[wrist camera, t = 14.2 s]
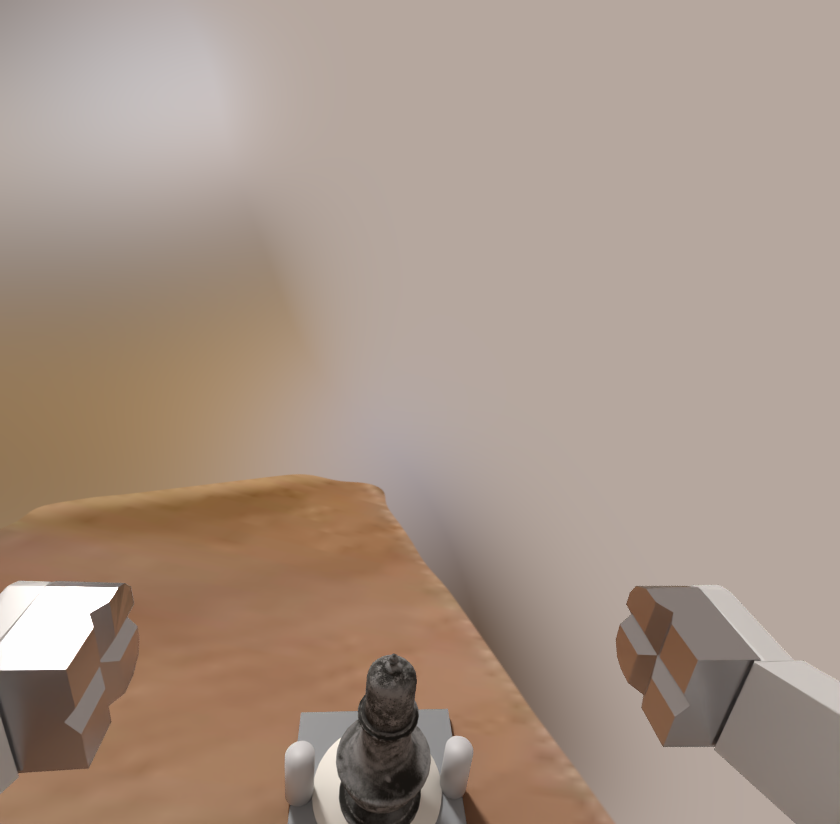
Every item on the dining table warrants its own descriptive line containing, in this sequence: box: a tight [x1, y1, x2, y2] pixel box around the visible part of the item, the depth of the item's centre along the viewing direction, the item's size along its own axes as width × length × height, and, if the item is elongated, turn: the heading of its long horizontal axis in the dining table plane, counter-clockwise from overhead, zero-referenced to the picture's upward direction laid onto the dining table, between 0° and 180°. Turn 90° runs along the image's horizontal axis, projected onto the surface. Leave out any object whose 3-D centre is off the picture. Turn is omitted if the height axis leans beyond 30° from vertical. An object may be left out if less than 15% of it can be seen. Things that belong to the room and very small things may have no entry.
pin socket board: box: [285, 682, 473, 824], centre depth 33 cm, size 12×11×4 cm
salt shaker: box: [336, 654, 431, 824], centre depth 31 cm, size 6×6×12 cm
